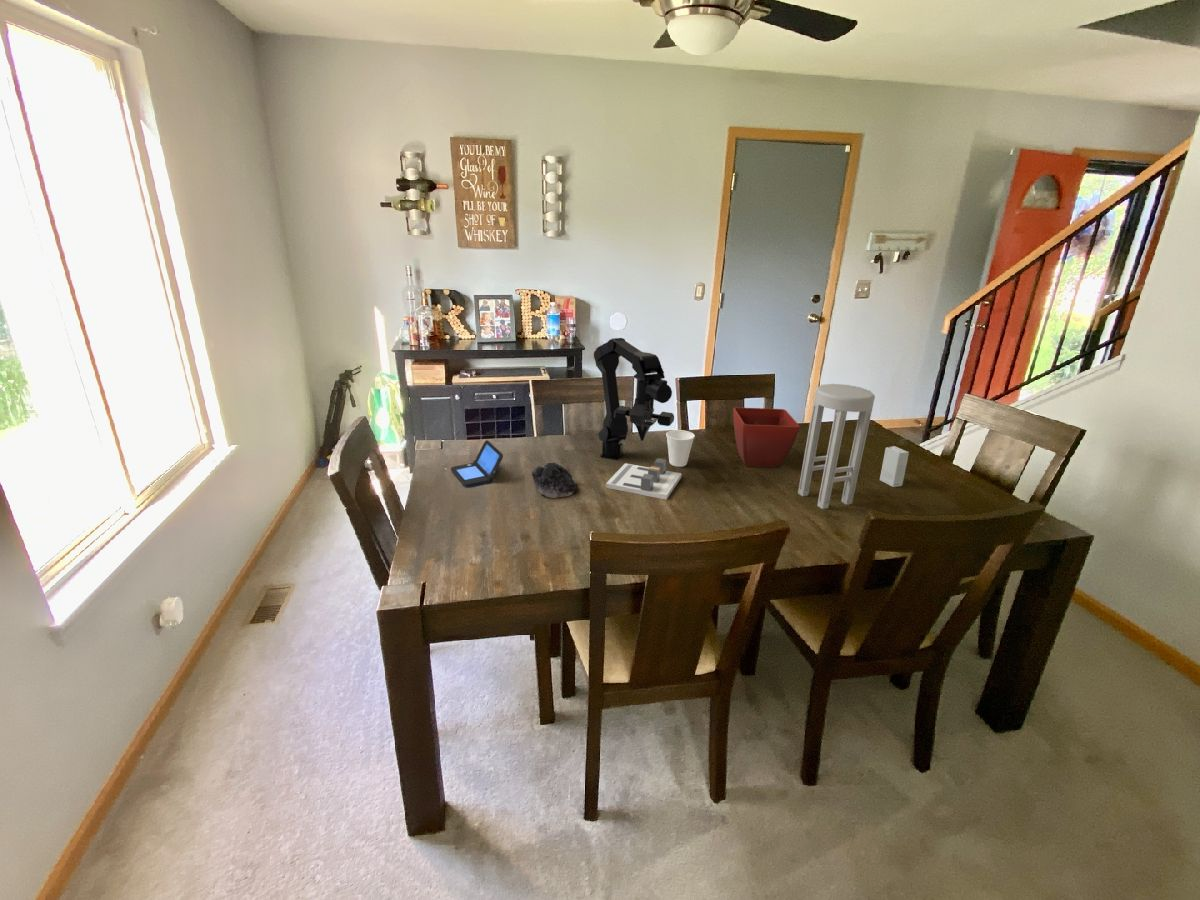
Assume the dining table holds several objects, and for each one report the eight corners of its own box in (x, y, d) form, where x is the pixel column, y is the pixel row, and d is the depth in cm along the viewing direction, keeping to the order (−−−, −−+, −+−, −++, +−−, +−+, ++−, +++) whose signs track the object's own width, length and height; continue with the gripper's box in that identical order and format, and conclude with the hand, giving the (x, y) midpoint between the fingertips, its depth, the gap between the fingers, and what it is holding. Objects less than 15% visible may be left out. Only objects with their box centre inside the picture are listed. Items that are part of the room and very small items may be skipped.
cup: (691, 459, 205) (694, 430, 201) (692, 470, 196) (695, 440, 191) (663, 457, 206) (666, 429, 201) (664, 468, 196) (666, 438, 192)
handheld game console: (449, 471, 190) (447, 445, 187) (487, 463, 197) (486, 438, 193) (465, 489, 178) (463, 461, 175) (505, 480, 184) (504, 454, 181)
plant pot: (793, 472, 197) (801, 426, 190) (738, 470, 197) (744, 424, 191) (778, 451, 214) (785, 408, 208) (727, 449, 215) (732, 407, 208)
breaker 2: (653, 472, 189) (654, 461, 187) (656, 468, 192) (657, 458, 190) (662, 474, 188) (663, 463, 186) (665, 470, 191) (666, 459, 189)
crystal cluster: (581, 485, 184) (580, 456, 181) (570, 500, 171) (569, 469, 168) (541, 484, 187) (540, 455, 184) (528, 498, 174) (526, 467, 171)
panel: (605, 487, 181) (606, 483, 180) (624, 467, 196) (625, 463, 196) (666, 499, 174) (666, 495, 174) (681, 477, 190) (681, 473, 189)
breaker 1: (640, 489, 177) (641, 477, 175) (644, 485, 180) (644, 473, 178) (649, 491, 176) (650, 479, 174) (653, 486, 179) (654, 475, 177)
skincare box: (902, 486, 188) (911, 452, 184) (892, 487, 187) (900, 453, 182) (888, 478, 193) (895, 445, 189) (877, 480, 192) (885, 446, 188)
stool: (788, 491, 182) (805, 385, 169) (826, 485, 187) (846, 381, 174) (821, 513, 169) (843, 400, 156) (862, 505, 174) (886, 395, 161)
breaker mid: (647, 481, 183) (648, 469, 181) (650, 476, 186) (651, 465, 184) (656, 482, 182) (657, 471, 180) (659, 478, 185) (660, 467, 183)
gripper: (608, 397, 176) (607, 443, 182) (666, 405, 170) (663, 453, 176) (620, 388, 186) (619, 433, 192) (676, 395, 180) (672, 441, 185)
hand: (642, 440), depth 186 cm, fingers closed
